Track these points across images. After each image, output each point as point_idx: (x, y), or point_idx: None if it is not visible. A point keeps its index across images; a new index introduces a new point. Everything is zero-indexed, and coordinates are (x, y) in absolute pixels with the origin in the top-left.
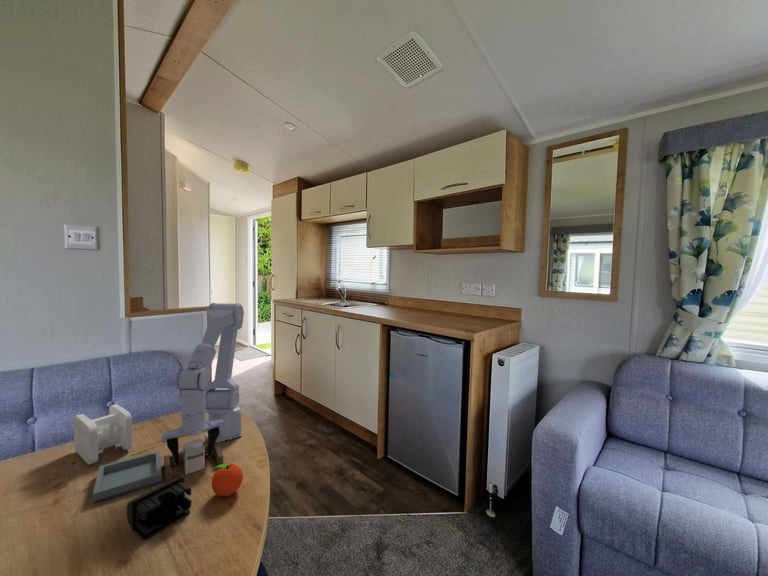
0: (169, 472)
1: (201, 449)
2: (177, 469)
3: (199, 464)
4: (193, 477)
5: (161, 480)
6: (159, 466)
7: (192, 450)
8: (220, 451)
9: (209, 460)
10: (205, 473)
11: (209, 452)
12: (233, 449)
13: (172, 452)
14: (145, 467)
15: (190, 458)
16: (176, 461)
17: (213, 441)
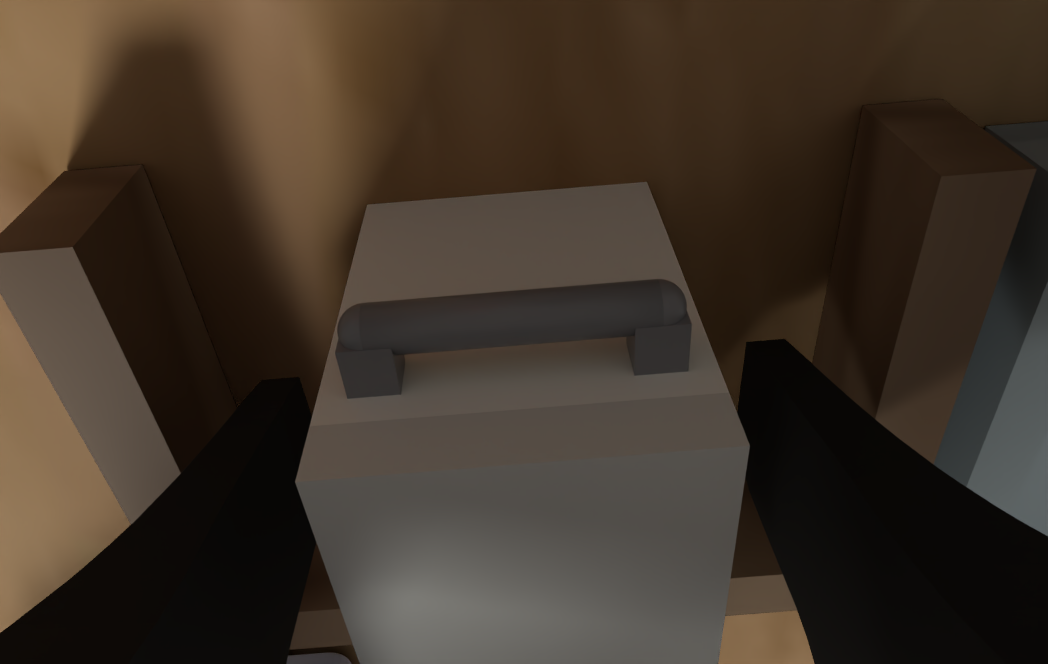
0: (959, 168)
1: (374, 451)
2: (724, 355)
3: (439, 246)
4: (539, 14)
5: (1009, 138)
6: (1014, 414)
7: (582, 468)
8: (85, 416)
9: (314, 376)
10: (342, 36)
11: (259, 425)
12: (8, 486)
13: (1030, 530)
14: (1036, 519)
15: (620, 287)
16: (825, 385)
17: (82, 604)
